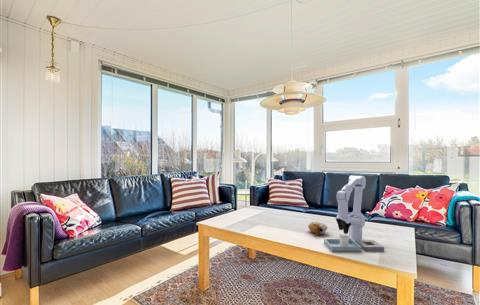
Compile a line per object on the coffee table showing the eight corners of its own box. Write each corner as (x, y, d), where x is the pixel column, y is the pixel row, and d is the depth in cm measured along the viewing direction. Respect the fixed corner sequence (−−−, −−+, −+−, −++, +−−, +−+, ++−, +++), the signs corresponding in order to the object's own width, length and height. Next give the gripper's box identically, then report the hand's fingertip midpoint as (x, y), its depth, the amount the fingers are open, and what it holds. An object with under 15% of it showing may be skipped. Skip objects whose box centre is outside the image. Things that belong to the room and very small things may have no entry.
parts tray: (323, 243, 159) (323, 238, 159) (351, 243, 158) (351, 238, 158) (331, 251, 145) (331, 246, 145) (361, 251, 144) (361, 246, 144)
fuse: (339, 245, 153) (339, 234, 154) (345, 245, 153) (345, 234, 153) (342, 247, 149) (342, 236, 150) (348, 247, 149) (348, 236, 149)
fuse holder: (355, 243, 157) (355, 240, 157) (373, 244, 157) (373, 240, 157) (364, 251, 145) (364, 246, 145) (384, 251, 145) (384, 247, 145)
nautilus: (323, 240, 166) (302, 237, 174) (330, 230, 184) (311, 228, 192) (322, 229, 166) (301, 226, 174) (329, 220, 184) (310, 218, 192)
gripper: (332, 207, 159) (332, 228, 159) (341, 212, 145) (341, 235, 144) (343, 207, 159) (343, 228, 159) (352, 212, 145) (353, 235, 144)
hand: (343, 231), depth 152 cm, fingers open, 7 cm apart
